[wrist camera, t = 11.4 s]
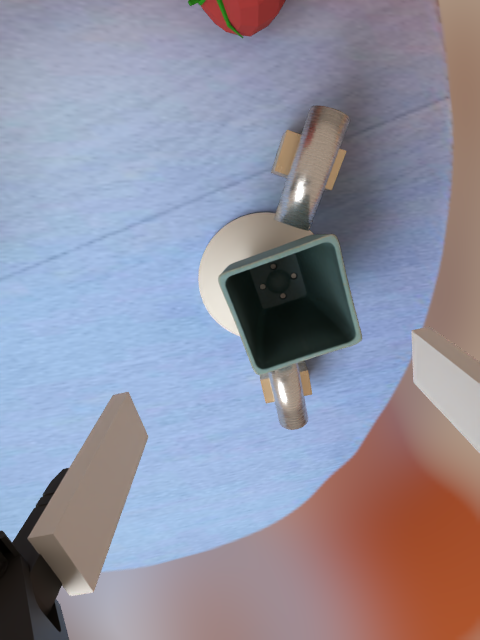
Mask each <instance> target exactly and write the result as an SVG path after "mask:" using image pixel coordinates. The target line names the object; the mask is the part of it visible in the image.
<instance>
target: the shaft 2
mask: <svg viewBox="0 0 480 640" xmlns="http://www.w3.org/2000/svg"><path fill="white" fill-rule="evenodd" d="M260 381H261V385H262V389H263V393H264V397H265V401H266V403H270V402H275V405H276V409H277V414H278V418H279V422H280V425H281V426H282V427H284V428H286V429H290V430H294V429H299V428H301V427H303V426H304V425H305V424H306V423H307V422H308V414H307V409H306V404H305V398H304V396H306V395H311V394H312V390H311V385H310V379H309V373H308V369H307V367H306V364H305V361H301V362H298V363H295V364H292V365H290V366H286V367H284V368H281V369H278V370H275V371H272V372H269V373H265V374H261V375H260Z"/></svg>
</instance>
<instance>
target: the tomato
mask: <svg viewBox="0 0 480 640" xmlns="http://www.w3.org/2000/svg"><path fill="white" fill-rule="evenodd" d="M284 2H285V0H189V1H188V3H189V5H190V6H192V5H194V4H196V3H198V4H199V5H201V7H202V9H203V10H204V11H205V12H206V13H207V14H208V16H209V17H210V18H211V19H212V20H213V22H214V23H215V24H216V25H218V26H219V27H221V28H222V29H223V30H225V31H226V32H229V33H232V34H236V35H239V36H240V37H242V36H252V35H253V34H255V33H257V32H258V31H260V30H262V29H263V28H265V27H267V26H268V25H269V24H270V23H271V22H272V20H273V19H274V18H275V17H276V16H277V14H278V13H279V11H280V9H281V8H282V6H283V4H284ZM241 35H242V36H241ZM242 38H243V37H242Z"/></svg>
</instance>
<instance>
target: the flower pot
mask: <svg viewBox="0 0 480 640" xmlns="http://www.w3.org/2000/svg"><path fill="white" fill-rule="evenodd" d="M272 264H275V265H276V267H275V268H274V269H272V268H271V265H272ZM293 273H295V274H296V278H292V277H291V275H292V274H293ZM218 283H219V286H220V288H221V291H222V293H223V295H224V298H225V300H226V303H227V305H228V307H229V309H230V312H231V314H232V317H233V319H234V322H235V324H236V327H237V329H238V332H239V334H240V337H241V340H242V342H243V345H244V347H245V350H246V352H247V355H248V357H249V360H250V363H251V366H252V368H253V370H254V372H255V373H256V374H258V375H261V374H265V373H269V372H272V371H275V370H278V369H281V368H284V367H286V366H290V365H292V364H295V363H298V362H301V361H304V360H308V359H311V358H314V357H317V356H320V355H323V354H326V353H329V352H333V351H336V350H339V349H342V348H346V347H350V346H353V345H355V344H357V343H359V342H360V341H361V340H362V334H361V329H360V326H359V322H358V319H357V315H356V311H355V308H354V303H353V299H352V296H351V291H350V287H349V283H348V279H347V275H346V271H345V266H344V262H343V257H342V253H341V248H340V243H339V241H338V238H337V236H336V235H333V234H315V235H309V236H306V237H303V238H300V239H298V240H295V241H292V242H289V243H287V244H284V245H281V246H279V247H276V248H273V249H270V250H268V251H265V252H262V253H259V254H257V255H254V256H251V257H248V258H246V259H243V260H240V261H237V262H234V263H232V264H230V265H229V266H228V267H227V268H226V269H225V270H224V271H223V272H222V273H221V274H220V275H219V277H218ZM262 284H264V285H265V289H261V288H260V285H262ZM282 293H284V294H285V295H286V296H285V298H281V297H280V295H281V294H282Z"/></svg>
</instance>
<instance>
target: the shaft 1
mask: <svg viewBox="0 0 480 640" xmlns="http://www.w3.org/2000/svg"><path fill="white" fill-rule="evenodd" d="M349 122H350V118H349V117H348V116H347V115H346V114H344V113H343V112H341V111H338V110H336V109H333V108H329V107H325V106H312V107H310V110H309V113H308V116H307V119H306V122H305V125H304V128H303V131H302V134H301V135H300V134H298V133H295V132H292V131H289V130H287V131H286V132H285V133H284V134H283V136H282V138H281V141H280V145H279V148H278V151H277V154H276V158H275V161H274V164H273V167H272V171H271V173H273V174H275V175H278V176H281V177H284V178H287V180H286V183H285V186H284V189H283V192H282V195H281V198H280V201H279V204H278V208H277V211H276V214H275V217H274V220H276V221H279V222H281V223H284V224H287V225H290V226H293V227H296V228H299V229H303V230H306V231H309V229H310V227H311V224H312V221H313V219H314V216H315V213H316V210H317V208H318V205H319V202H320V200H321V197H322V194H323V192H324V190H332V188H333V185H334V183H335V180H336V177H337V175H338V172H339V170H340V167H341V164H342V162H343V159H344V156H345V154H346V151H345V150H342V149H340V146H341V143H342V141H343V138H344V135H345V133H346V130H347V127H348V125H349Z"/></svg>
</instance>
